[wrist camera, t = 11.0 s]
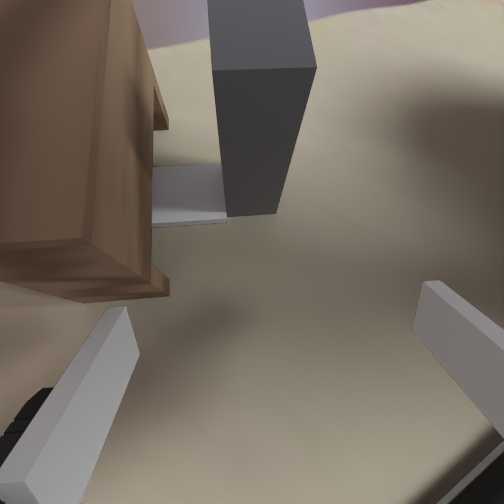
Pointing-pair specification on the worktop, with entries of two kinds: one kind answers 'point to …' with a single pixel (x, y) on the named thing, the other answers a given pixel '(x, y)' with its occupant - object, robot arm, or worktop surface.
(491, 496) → the door handle
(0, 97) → the walnut stool
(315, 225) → the worktop surface
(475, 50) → the worktop surface
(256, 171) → the grey block with plate
